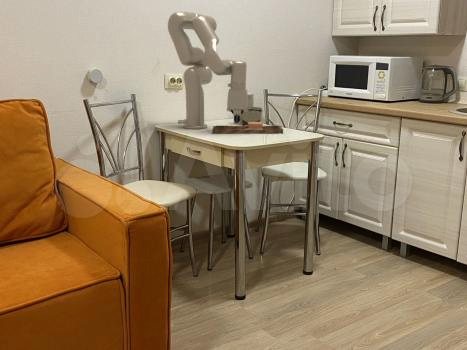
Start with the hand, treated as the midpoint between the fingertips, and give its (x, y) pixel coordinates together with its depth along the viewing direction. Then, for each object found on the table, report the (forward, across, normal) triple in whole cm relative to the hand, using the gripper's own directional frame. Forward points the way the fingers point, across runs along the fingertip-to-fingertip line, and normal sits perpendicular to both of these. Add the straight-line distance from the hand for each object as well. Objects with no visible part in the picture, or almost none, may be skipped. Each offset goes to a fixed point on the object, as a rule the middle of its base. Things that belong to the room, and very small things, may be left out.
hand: (236, 122), depth 261 cm
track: (+4, +6, -1) cm, 7 cm away
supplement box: (+5, +4, +28) cm, 29 cm away
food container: (+5, +8, +19) cm, 21 cm away
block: (+4, +10, +1) cm, 10 cm away
